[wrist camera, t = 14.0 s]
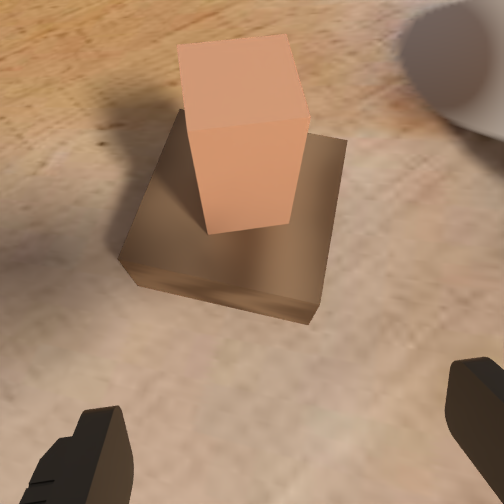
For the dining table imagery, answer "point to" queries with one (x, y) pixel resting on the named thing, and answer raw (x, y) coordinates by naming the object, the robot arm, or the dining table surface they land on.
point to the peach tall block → (244, 129)
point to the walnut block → (236, 237)
